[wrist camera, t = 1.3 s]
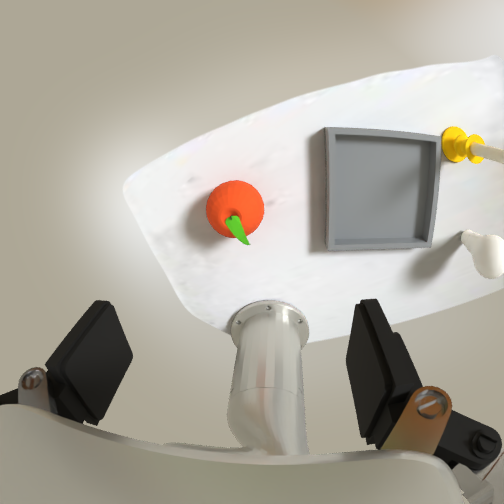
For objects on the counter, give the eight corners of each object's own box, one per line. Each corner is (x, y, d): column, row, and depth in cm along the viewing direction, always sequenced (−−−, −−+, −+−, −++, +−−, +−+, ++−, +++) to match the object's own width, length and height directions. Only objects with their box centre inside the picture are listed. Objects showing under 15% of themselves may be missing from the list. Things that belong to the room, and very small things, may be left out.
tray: (423, 240, 37) (430, 247, 35) (325, 243, 39) (328, 250, 36) (432, 135, 31) (441, 136, 28) (324, 127, 32) (328, 127, 30)
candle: (471, 153, 31) (543, 177, 17) (448, 167, 32) (520, 197, 18) (459, 121, 29) (534, 132, 15) (435, 134, 31) (510, 149, 16)
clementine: (277, 221, 38) (277, 242, 32) (230, 240, 40) (222, 264, 33) (250, 166, 35) (245, 176, 29) (203, 189, 37) (188, 204, 30)
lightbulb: (482, 233, 36) (521, 263, 26) (460, 259, 38) (495, 294, 28) (467, 209, 34) (509, 236, 24) (444, 236, 37) (482, 270, 27)
